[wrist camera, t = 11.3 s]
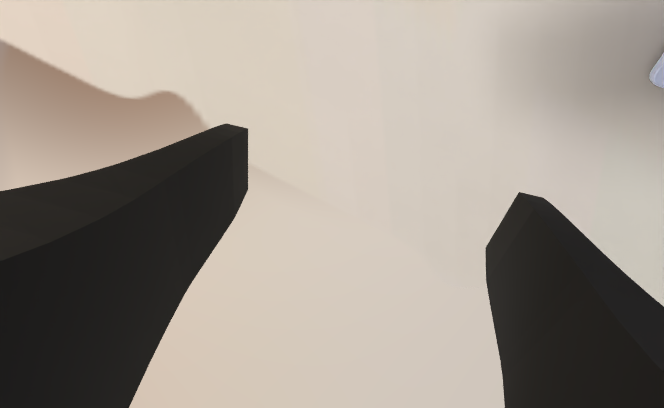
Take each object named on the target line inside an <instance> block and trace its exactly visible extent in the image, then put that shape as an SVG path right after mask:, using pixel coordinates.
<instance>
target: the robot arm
mask: <svg viewBox="0 0 664 408" xmlns="http://www.w3.org/2000/svg"><path fill="white" fill-rule="evenodd" d="M649 79H650V81H651V82H652V83H653V84H654V85H656V86H658V87H661V88H664V53H663V55H662V56H661V57H660V59H659V60H658V62H657V63H656V65H655V66H654V67H653V69H652V70H651V73H650V75H649ZM247 190H248V129H247V128H243V127H239V126H234V125H230V124H223V125H220V126H217V127H214V128H211V129H209V130H206V131H204V132H201V133H199V134H196V135H194V136H191V137H189V138H186V139H184V140H181V141H179V142H176V143H174V144H171V145H169V146H166V147H164V148H161V149H159V150H156V151H153V152H150V153H147V154H145V155H142V156H139V157H136V158H133V159H130V160H128V161H125V162H122V163H119V164H116V165H113V166H109V167H106V168H102V169H99V170H95V171H91V172H88V173H84V174H80V175H77V176H73V177H68V178H64V179H60V180H55V181H50V182H46V183H40V184H35V185H30V186H25V187H21V188H16V189H11V190H5V191H0V408H129V406H130V404H131V402H132V400H133V397H134V395H135V393H136V391H137V389H138V386H139V385H140V382H141V380H142V378H143V376H144V374H145V371H146V369H147V367H148V365H149V363H150V361H151V359H152V357H153V355H154V353H155V351H156V349H157V347H158V345H159V343H160V340H161V339H162V337H163V334H164V333H165V331H166V329H167V327H168V325H169V323H170V320H171V319H172V317H173V315H174V313H175V311H176V309H177V307H178V306H179V303H180V302H181V300H182V298H183V296H184V294H185V293H186V291H187V289H188V288H189V286H190V284H191V283H192V281H193V279H194V278H195V276H196V275H197V273H198V272H199V270H200V269H201V267H202V266H203V264H204V263H205V262H206V260H207V259H208V257H209V256H210V254H211V253H212V251H213V250H214V248H215V247H216V245H217V244H218V242H219V241H220V239H221V238H222V236H223V235H224V233H225V232H226V230H227V229H228V227H229V225H230V224H231V223H232V221H233V219H234V218H235V216H236V214H237V212H238V210H239V208H240V206H241V203H242V201H243V199H244V197H245V195H246V192H247ZM486 282H487V288H488V294H489V300H490V305H491V311H492V316H493V322H494V328H495V333H496V339H497V344H498V349H499V355H500V360H501V368H502V374H503V386H504V401H505V408H664V307H663V306H662V305H661V304H660V303H659V302H657V301H656V300H655V299H654V298H652V297H651V296H650V295H649V294H648V293H647V292H646V291H644V290H643V289H642V288H641V287H640V286H639V285H638V284H636V283H635V282H634V281H633V280H632V279H631V278H630V277H628V276H627V275H626V274H625V273H624V272H623V271H622V270H621V269H620V268H618V267H617V266H616V265H615V264H614V263H613V262H612V261H611V260H610V259H609V258H608V257H607V256H606V255H604V254H603V253H602V252H601V251H600V250H599V249H598V248H597V247H596V246H595V245H594V244H593V243H592V242H591V241H590V240H589V239H588V238H587V237H586V236H585V235H584V234H583V233H582V232H581V231H580V230H578V229H577V228H576V227H575V226H574V225H573V224H572V223H571V222H570V221H569V220H568V219H567V218H566V217H565V216H564V215H563V214H562V213H561V212H560V211H559V210H557V209H556V208H555V207H554V206H553V205H552V204H550V203H549V202H548V201H547V200H545V199H544V198H542V197H537V196H533V195H529V194H524V193H520V192H519V193H518V195H517V197H516V198H515V200H514V202H513V203H512V205H511V207H510V208H509V210H508V212H507V213H506V215H505V217H504V218H503V220H502V222H501V223H500V225H499V227H498V228H497V230H496V232H495V233H494V235H493V237H492V238H491V240H490V242H489V243H488V245H487V247H486Z"/></svg>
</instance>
